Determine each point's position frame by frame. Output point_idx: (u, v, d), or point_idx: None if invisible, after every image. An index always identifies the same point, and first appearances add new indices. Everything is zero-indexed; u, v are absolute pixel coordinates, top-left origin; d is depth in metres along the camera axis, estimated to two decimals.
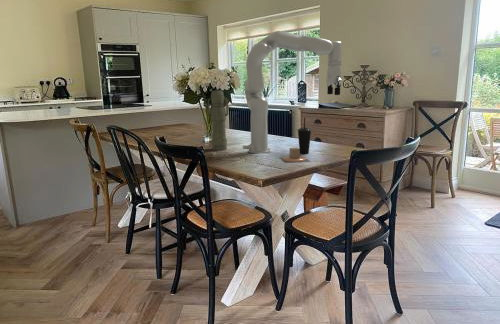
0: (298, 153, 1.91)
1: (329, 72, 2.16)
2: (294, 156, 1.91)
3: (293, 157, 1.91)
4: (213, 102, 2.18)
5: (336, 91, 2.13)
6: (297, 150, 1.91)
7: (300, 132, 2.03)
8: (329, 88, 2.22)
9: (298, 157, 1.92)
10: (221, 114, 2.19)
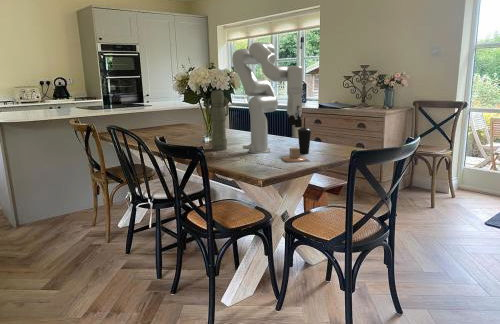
0: (298, 153, 1.91)
1: (289, 101, 1.87)
2: (294, 156, 1.91)
3: (293, 157, 1.91)
4: (213, 102, 2.18)
5: (297, 123, 1.84)
6: (297, 150, 1.91)
7: (300, 132, 2.03)
8: (290, 118, 1.93)
9: (298, 157, 1.92)
10: (221, 114, 2.19)
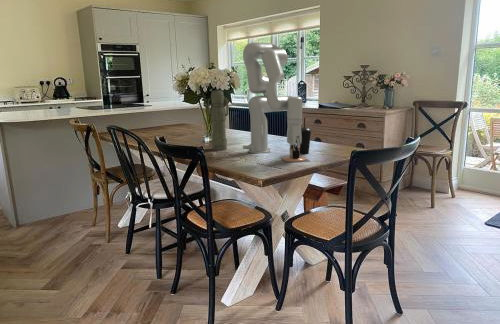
0: None
1: (289, 131, 1.90)
2: None
3: None
4: (213, 102, 2.18)
5: (294, 154, 1.90)
6: None
7: None
8: None
9: None
10: (221, 114, 2.19)
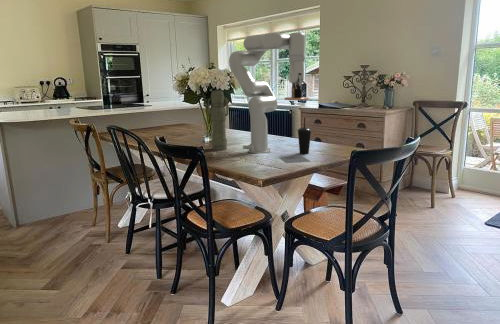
0: None
1: (291, 68, 1.86)
2: None
3: None
4: (213, 102, 2.18)
5: (296, 93, 1.86)
6: None
7: (300, 132, 2.03)
8: None
9: None
10: (221, 114, 2.19)
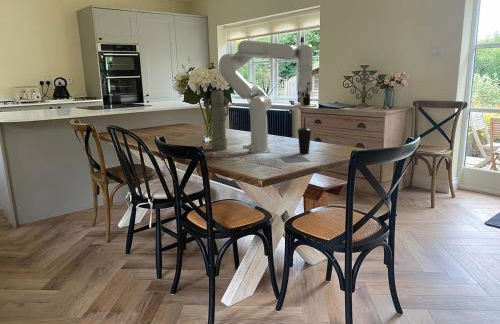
0: None
1: (300, 78, 1.99)
2: None
3: None
4: (213, 102, 2.18)
5: (305, 101, 1.99)
6: None
7: (300, 132, 2.03)
8: None
9: None
10: (221, 114, 2.19)
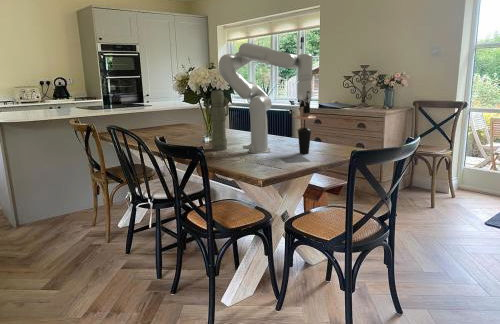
0: None
1: (299, 87, 2.00)
2: (304, 114, 2.01)
3: (304, 115, 2.01)
4: (213, 102, 2.18)
5: (305, 109, 1.99)
6: None
7: (300, 132, 2.03)
8: (301, 105, 2.05)
9: (308, 115, 2.02)
10: (221, 114, 2.19)
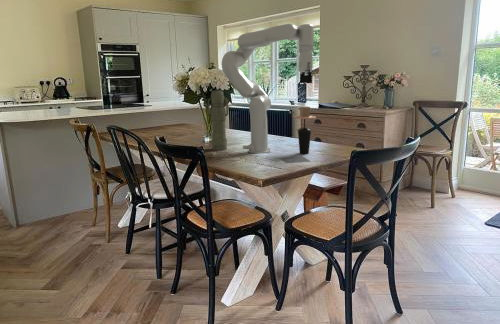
0: (308, 111, 2.01)
1: (300, 58, 1.97)
2: (304, 114, 2.01)
3: (303, 115, 2.01)
4: (213, 102, 2.18)
5: (307, 79, 1.94)
6: (308, 108, 2.01)
7: (300, 132, 2.03)
8: (301, 76, 2.04)
9: (308, 115, 2.02)
10: (221, 114, 2.19)
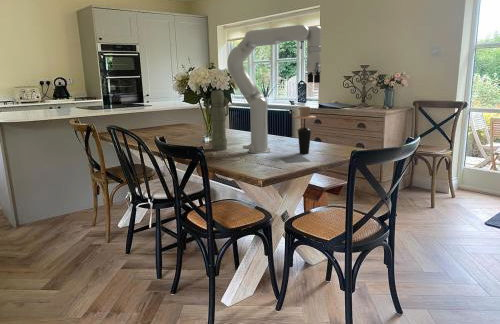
0: (308, 111, 2.01)
1: (308, 59, 2.06)
2: (304, 114, 2.01)
3: (303, 115, 2.01)
4: (213, 102, 2.18)
5: (316, 78, 2.03)
6: (307, 108, 2.01)
7: (300, 132, 2.03)
8: (309, 76, 2.12)
9: (308, 115, 2.02)
10: (221, 114, 2.19)
